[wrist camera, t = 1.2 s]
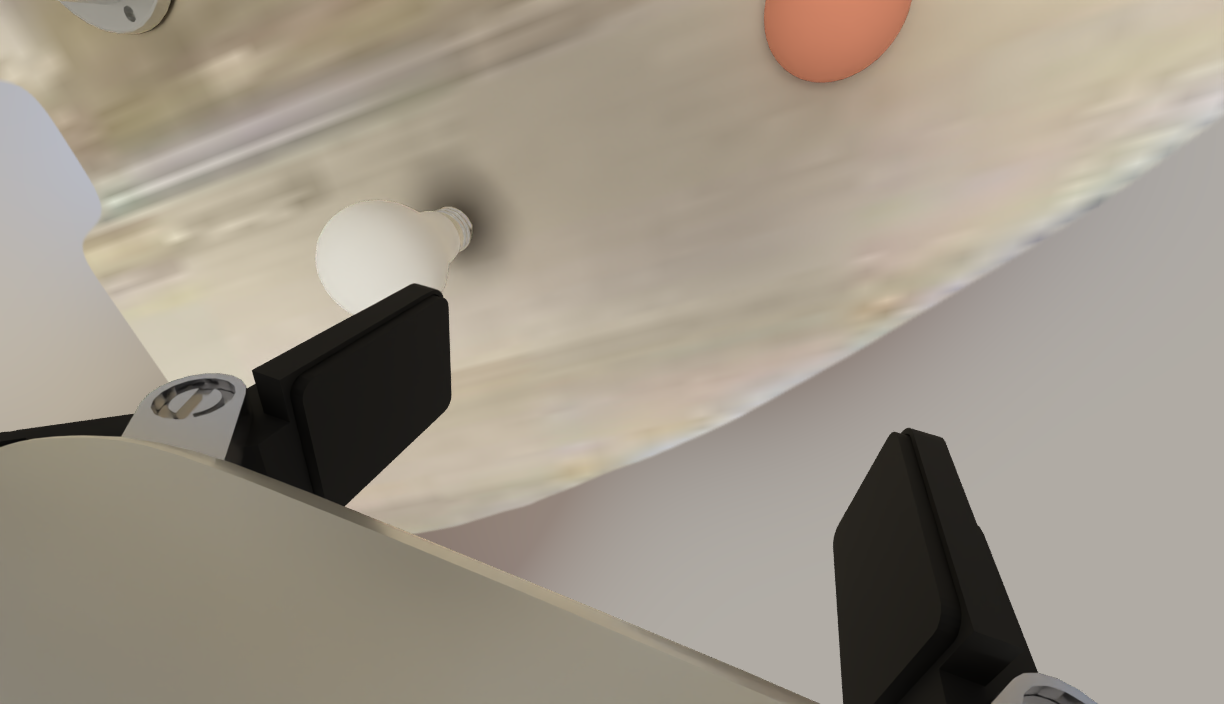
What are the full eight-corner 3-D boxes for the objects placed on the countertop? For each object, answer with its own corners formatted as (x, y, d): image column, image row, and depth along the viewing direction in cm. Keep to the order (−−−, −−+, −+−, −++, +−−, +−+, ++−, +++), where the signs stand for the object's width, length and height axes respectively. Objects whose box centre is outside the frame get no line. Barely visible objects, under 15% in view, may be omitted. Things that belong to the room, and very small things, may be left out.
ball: (748, 64, 25) (740, 64, 20) (794, -80, 22) (797, -119, 17) (861, 94, 24) (879, 101, 20) (925, -51, 21) (964, -84, 17)
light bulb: (506, 186, 32) (394, 235, 23) (503, 282, 35) (405, 358, 26) (413, 164, 33) (270, 203, 24) (419, 259, 36) (297, 325, 27)
